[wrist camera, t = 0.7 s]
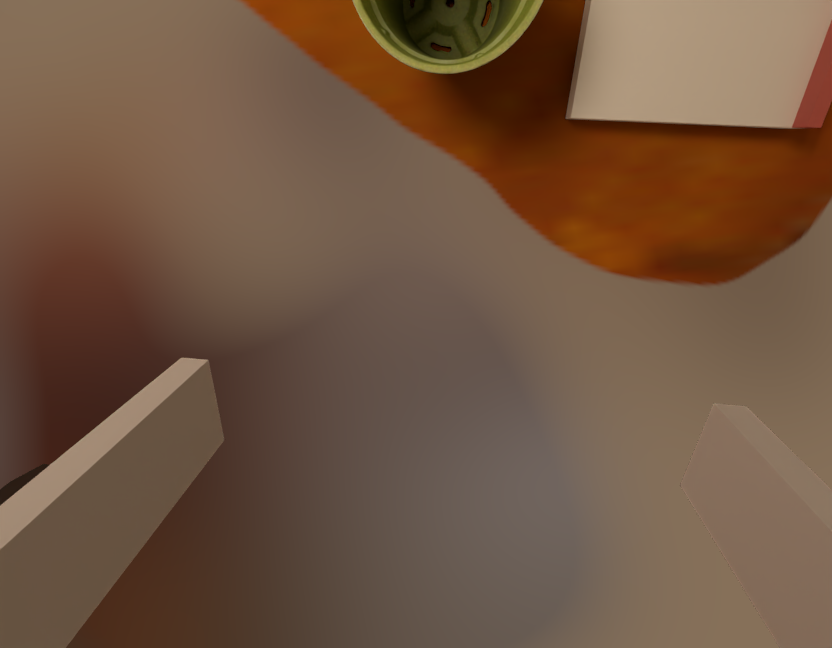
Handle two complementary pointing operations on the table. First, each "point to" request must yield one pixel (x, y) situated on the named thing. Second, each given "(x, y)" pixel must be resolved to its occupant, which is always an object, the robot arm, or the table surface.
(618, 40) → the shelf board
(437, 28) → the plant pot
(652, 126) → the table surface
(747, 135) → the table surface
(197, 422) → the robot arm
